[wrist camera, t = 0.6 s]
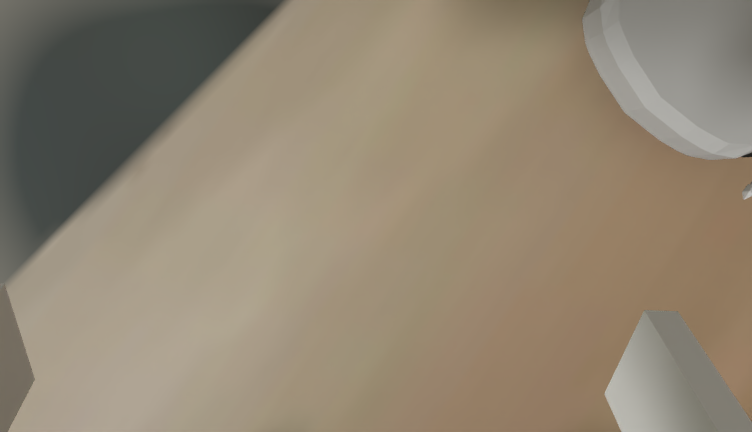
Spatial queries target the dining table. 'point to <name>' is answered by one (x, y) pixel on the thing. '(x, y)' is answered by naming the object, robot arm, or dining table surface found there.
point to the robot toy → (679, 70)
